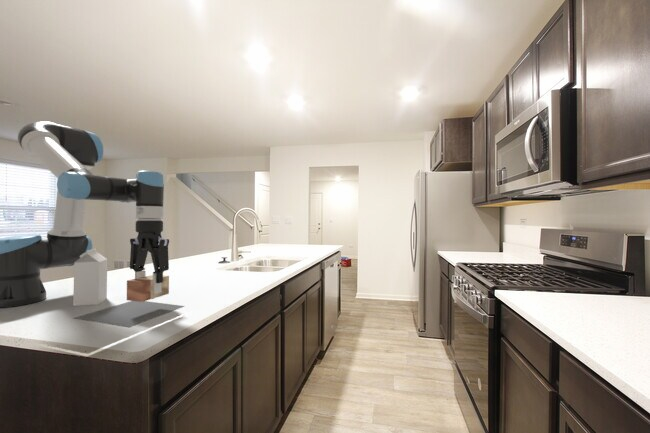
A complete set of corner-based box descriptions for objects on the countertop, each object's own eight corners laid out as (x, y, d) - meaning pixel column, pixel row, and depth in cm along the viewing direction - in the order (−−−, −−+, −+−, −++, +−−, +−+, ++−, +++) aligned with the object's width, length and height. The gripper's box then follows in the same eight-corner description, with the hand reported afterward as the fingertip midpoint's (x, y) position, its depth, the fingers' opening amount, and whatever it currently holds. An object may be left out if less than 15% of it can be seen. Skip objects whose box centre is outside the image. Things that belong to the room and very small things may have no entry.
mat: (72, 320, 85) (72, 318, 85) (135, 301, 104) (135, 299, 104) (129, 329, 78) (129, 327, 78) (184, 307, 98) (184, 306, 98)
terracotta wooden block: (154, 292, 98) (154, 274, 98) (168, 293, 96) (169, 275, 96) (126, 300, 88) (126, 280, 88) (141, 301, 86) (142, 281, 86)
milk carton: (106, 300, 105) (107, 248, 105) (98, 305, 99) (99, 250, 99) (83, 301, 103) (84, 248, 103) (72, 307, 96) (74, 250, 96)
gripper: (116, 219, 91) (115, 292, 91) (163, 220, 86) (162, 297, 86) (137, 219, 98) (136, 287, 98) (182, 220, 93) (181, 291, 93)
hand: (148, 292), depth 92 cm, fingers closed on terracotta wooden block, 6 cm apart
